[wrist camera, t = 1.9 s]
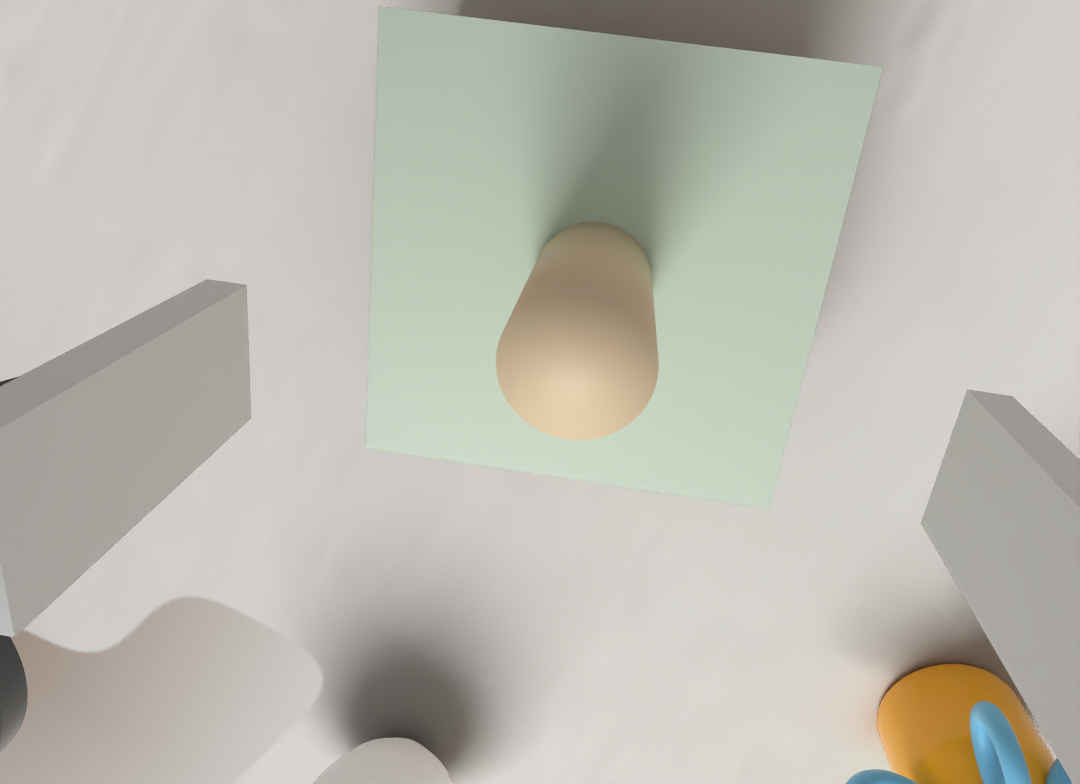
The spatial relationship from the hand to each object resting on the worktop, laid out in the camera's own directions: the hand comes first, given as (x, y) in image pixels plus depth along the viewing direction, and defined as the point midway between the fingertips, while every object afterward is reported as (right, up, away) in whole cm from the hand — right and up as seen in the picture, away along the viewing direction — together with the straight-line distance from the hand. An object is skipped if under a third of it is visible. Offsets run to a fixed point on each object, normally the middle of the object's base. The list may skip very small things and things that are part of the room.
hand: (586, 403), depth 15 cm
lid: (+1, +4, +9) cm, 10 cm away
